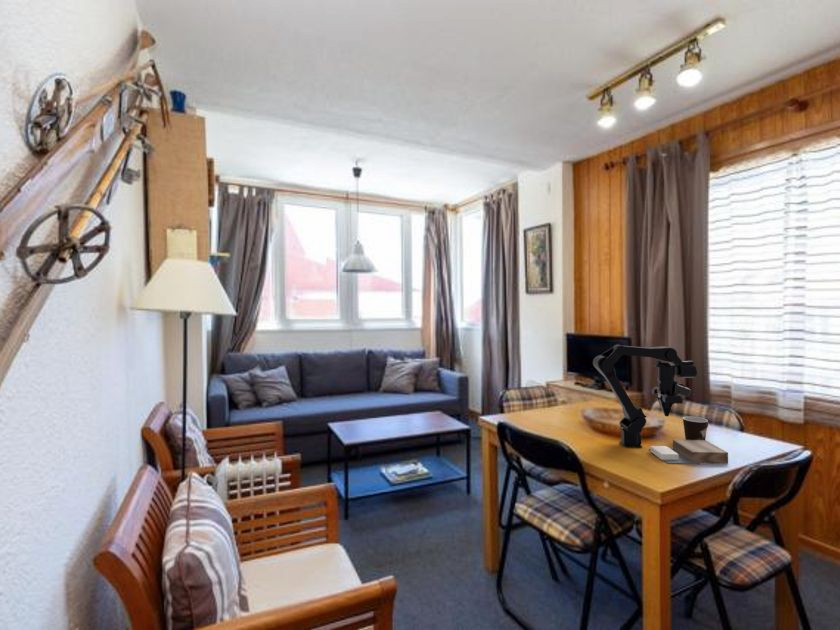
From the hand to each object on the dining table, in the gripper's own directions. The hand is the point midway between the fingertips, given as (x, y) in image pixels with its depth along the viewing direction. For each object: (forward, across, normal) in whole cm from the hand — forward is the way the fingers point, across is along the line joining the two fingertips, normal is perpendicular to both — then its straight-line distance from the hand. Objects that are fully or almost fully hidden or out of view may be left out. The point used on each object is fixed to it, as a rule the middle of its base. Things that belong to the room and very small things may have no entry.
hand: (666, 416), depth 170 cm
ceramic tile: (+10, -13, +5) cm, 17 cm away
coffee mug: (+12, +5, -13) cm, 19 cm away
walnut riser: (+12, -11, -8) cm, 18 cm away
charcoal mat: (+12, -13, +2) cm, 18 cm away
